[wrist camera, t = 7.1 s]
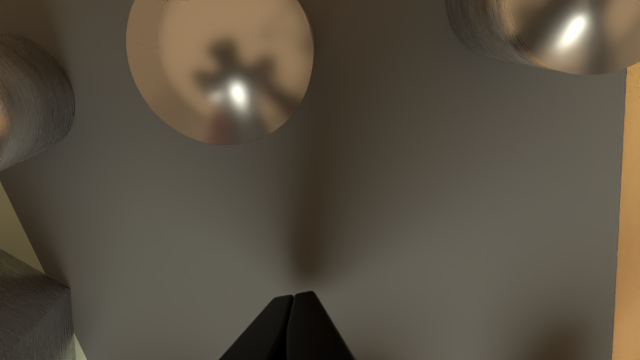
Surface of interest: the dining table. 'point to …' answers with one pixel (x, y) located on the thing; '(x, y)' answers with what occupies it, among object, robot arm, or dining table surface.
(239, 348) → the robot arm
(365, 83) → the mat
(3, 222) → the parts tray
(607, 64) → the standoffs
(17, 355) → the steel nut
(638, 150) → the dining table surface
